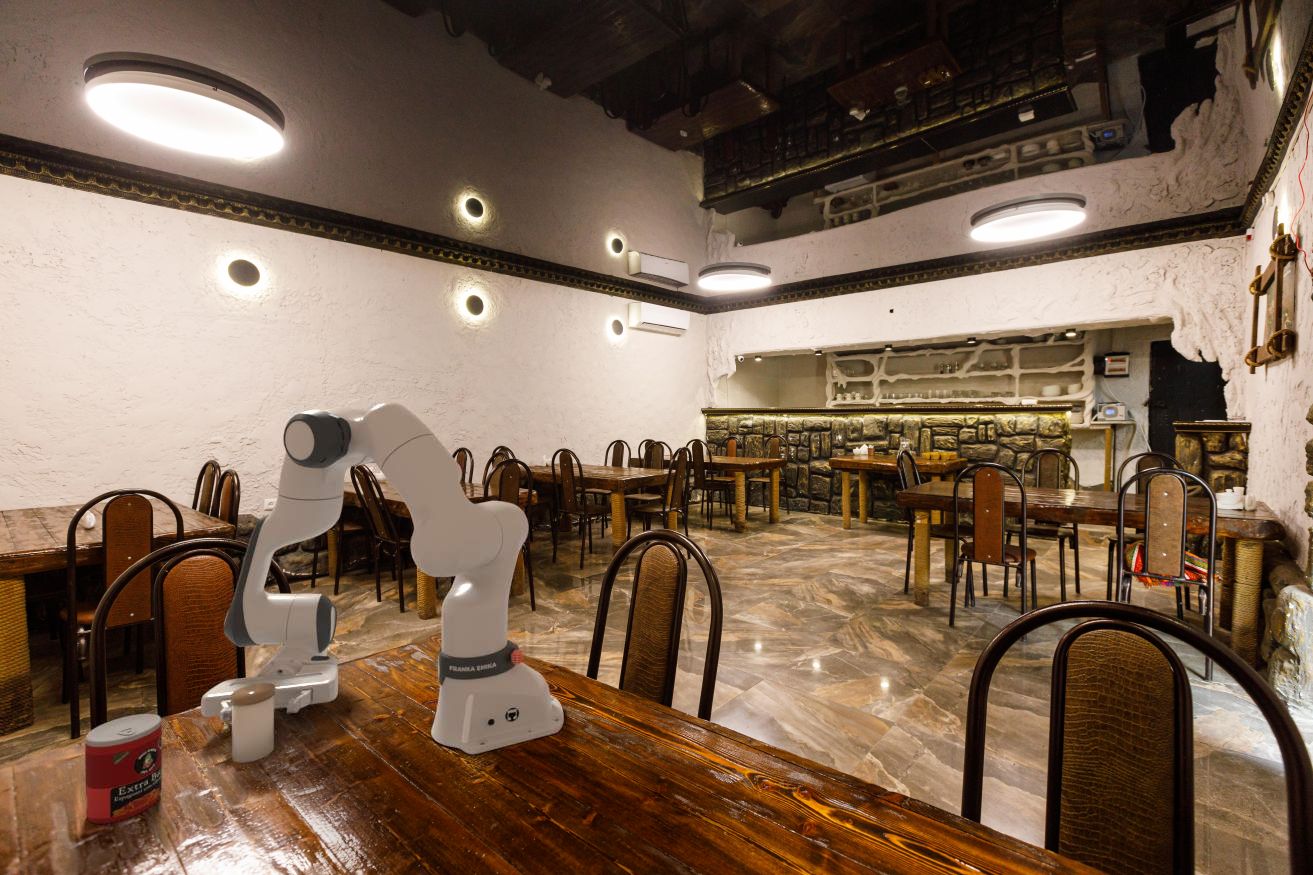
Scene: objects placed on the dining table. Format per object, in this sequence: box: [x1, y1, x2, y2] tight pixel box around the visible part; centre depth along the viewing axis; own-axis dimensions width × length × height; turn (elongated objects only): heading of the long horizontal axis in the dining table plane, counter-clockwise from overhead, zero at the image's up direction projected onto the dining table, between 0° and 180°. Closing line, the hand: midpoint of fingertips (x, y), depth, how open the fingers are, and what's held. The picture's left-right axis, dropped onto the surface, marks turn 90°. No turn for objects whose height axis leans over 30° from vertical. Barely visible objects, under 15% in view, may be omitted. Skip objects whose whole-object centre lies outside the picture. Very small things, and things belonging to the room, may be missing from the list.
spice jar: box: [231, 683, 275, 764], centre depth 92 cm, size 6×6×10 cm
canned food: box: [84, 713, 163, 824], centre depth 78 cm, size 8×8×11 cm
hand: (258, 712), depth 94 cm, fingers open, 8 cm apart
